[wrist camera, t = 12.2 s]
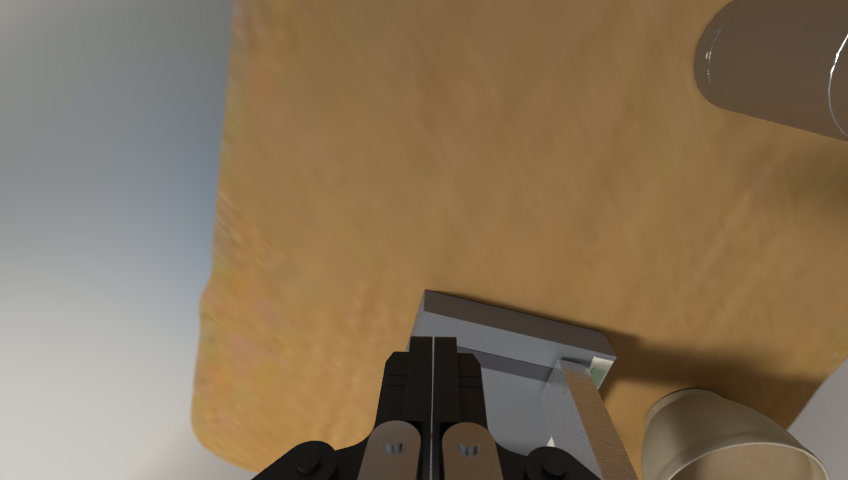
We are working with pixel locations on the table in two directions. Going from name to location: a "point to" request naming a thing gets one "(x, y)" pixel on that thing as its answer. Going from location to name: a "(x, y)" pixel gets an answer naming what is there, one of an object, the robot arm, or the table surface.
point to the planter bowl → (720, 442)
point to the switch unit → (513, 360)
